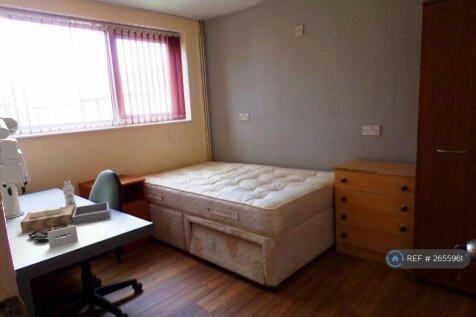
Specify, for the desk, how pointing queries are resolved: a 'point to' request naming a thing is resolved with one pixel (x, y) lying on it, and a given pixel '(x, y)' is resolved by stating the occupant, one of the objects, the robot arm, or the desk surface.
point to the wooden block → (47, 220)
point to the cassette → (62, 240)
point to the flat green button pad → (43, 235)
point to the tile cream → (38, 212)
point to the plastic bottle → (69, 194)
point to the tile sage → (53, 210)
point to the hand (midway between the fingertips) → (17, 194)
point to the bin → (90, 213)
